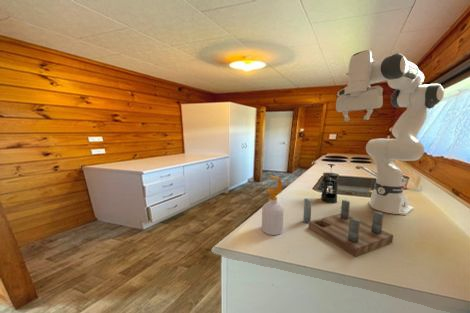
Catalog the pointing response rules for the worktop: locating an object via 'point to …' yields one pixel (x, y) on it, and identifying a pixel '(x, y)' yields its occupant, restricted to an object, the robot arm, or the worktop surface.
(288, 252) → the worktop surface
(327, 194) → the french press
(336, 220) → the stool
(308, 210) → the stool leg
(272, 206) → the white orange spray bottle
